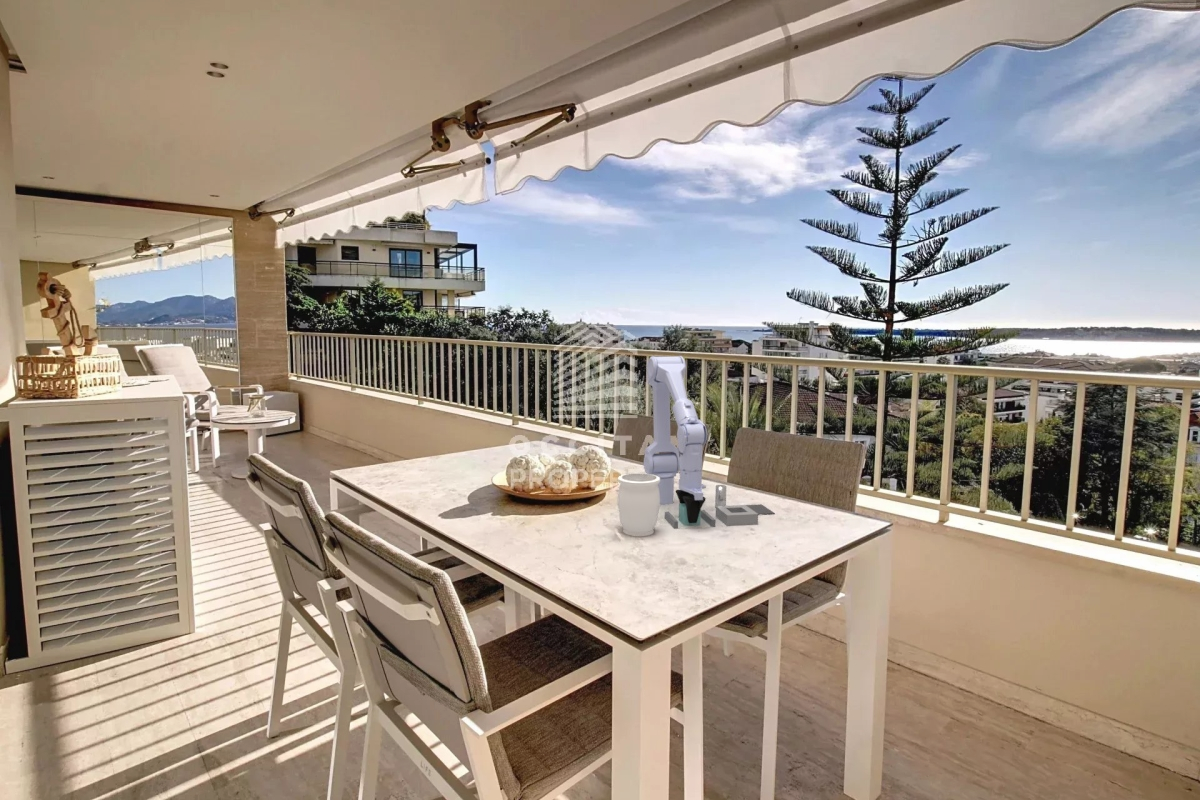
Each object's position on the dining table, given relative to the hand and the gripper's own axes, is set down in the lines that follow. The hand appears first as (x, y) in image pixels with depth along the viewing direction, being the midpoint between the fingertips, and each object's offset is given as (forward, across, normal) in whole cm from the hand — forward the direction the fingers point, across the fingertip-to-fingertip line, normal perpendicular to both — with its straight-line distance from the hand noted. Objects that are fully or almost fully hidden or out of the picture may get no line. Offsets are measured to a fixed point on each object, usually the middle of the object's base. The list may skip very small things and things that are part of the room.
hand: (689, 519), depth 168 cm
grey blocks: (+2, 0, -6) cm, 6 cm away
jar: (+2, -5, +15) cm, 16 cm away
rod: (+2, +12, -13) cm, 18 cm away
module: (+1, 0, 0) cm, 1 cm away
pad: (+2, +12, -23) cm, 26 cm away
